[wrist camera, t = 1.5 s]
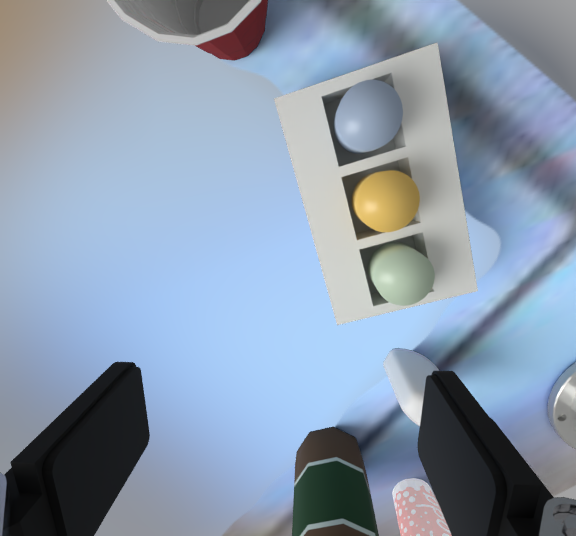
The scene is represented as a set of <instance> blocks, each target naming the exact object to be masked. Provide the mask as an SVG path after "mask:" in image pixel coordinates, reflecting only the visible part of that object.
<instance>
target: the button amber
mask: <svg viewBox="0 0 576 536" xmlns="http://www.w3.org/2000/svg"><path fill="white" fill-rule="evenodd" d="M419 203H420V195H419V190H418V188H417V185H416V184H415V182H414V181H413V180H412V179H411V178H410V177H409V176H408V175H406V174H404V173H402V172H399V171H395V170H388V171H380V172H374V173H371V174H368V175H366V176H365V177H363V178H362V179H361V180H360V181H359V182H358V183H357V185H356V186H355V188H354V190H353V193H352V208H353V211H354V213H355V214H356V216H357V217H358V218H359V219H360V220H361V221H362V222H363V223H365V224H366V225H367V226H369V227H370V228H372V229H374V230H376V231H379V232H393V231H397V230H399V229H402V228H403V227H405V226H406V225H407V224H409V223H410V222H411V221H412V219H413V218H414V217H415V215H416V213H417V211H418V208H419Z"/></svg>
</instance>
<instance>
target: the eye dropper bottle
mask: <svg viewBox="0 0 576 536" xmlns="http://www.w3.org/2000/svg"><path fill="white" fill-rule="evenodd" d="M383 365H384V368H385V370H386V373H387V375H388V378H389V380H390V383H391V385H392V387H393V390H394V392H395V395H396V397H397V400H398V402H399V404H400V406H401V408H402V410H403V411H404V413H405V414H406V415H407V416H408V417H409V418H410V419H411V420H412V421H413V422H414V423H416V424H417V425H418V426H420V422H421V414H422V406H423V398H424V390H425V383H426V377H427V376H428V375H432V372H433V371H439V369H438V368H437V367H436V366H435V365H434V363H432V362H431V361H430V360H429V359H428V358H426V357H425V356H423V355H421V354H420V353H417V352H415V351H412V350H407V349H400V348H395V349H392V350H391V351H390V352H389V353H388V355H387V357H386V359H385V360H384V363H383Z"/></svg>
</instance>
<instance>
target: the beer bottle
mask: <svg viewBox="0 0 576 536" xmlns="http://www.w3.org/2000/svg"><path fill="white" fill-rule="evenodd" d="M292 536H379V534H378V529H377V524H376V519H375V514H374V509H373V504H372V499H371V494H370V489H369V484H368V479H367V474H366V470H365V466H364V462H363V458H362V455H361V452H360V449H359V446H358V443H357V440H356V438H355V437H353V436H351V435H349V434H347V433H345V432H343V431H341V430H339V429H337V428H335V427H329V428H325V429H321V430H316V431H312V432H310V433H309V434H308V436H307V437H306V438H305V440H304V442H303V443H302V444H301V446H300V448H299V449H298V451H297V455H296V463H295V483H294V505H293V527H292Z"/></svg>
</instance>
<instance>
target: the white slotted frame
mask: <svg viewBox="0 0 576 536" xmlns="http://www.w3.org/2000/svg"><path fill="white" fill-rule="evenodd" d="M365 80H380V81H383V82H385V83H387V84H389V85H390V86H391V87H393V88H394V89H395V91H396V92H397V93H398V95H399V97H400V99H401V102H402V107H403V117H402V122H401V125H400V128H399V130H398V132H397V133H396V135H395V136H394V137H393V139H392V140H391V141H389V142H388V143H387V144H386V145H384V146H382V147H380V148H378V149H376V150H374V151H371V152H369V153H365V154H355V153H351V152H349V151H347V150H345V149H344V148H343V147H342V146H341V145H340V144H339V143H338V141H337V139H336V137H335V134H334V129H333V123H334V117H335V114H336V111H337V109H338V107H339V104H340V102H341V100H342V98H343V96H344V95H345V93H346V92H347V91H348V90H349V89H350V88H351V87H353V86H354V85H356V84H357V83H359V82H362V81H365ZM274 100H275V104H276V107H277V111H278V115H279V118H280V122H281V125H282V129H283V133H284V136H285V139H286V143H287V147H288V150H289V154H290V158H291V161H292V165H293V168H294V172H295V176H296V179H297V183H298V186H299V190H300V193H301V197H302V201H303V204H304V208H305V211H306V215H307V218H308V222H309V225H310V229H311V233H312V236H313V240H314V243H315V247H316V251H317V254H318V258H319V261H320V265H321V268H322V272H323V276H324V279H325V283H326V286H327V290H328V293H329V297H330V301H331V304H332V307H333V311H334V315H335V318H336V322H337V325H339V324H344V323H348V322H352V321H356V320H360V319H364V318H369V317H372V316H377V315H381V314H385V313H389V312H393V311H397V310H401V309H406V308H410V307H414V306H418V305H422V304H426V303H430V302H434V301H438V300H442V299H447V298H451V297H455V296H459V295H463V294H467V293H472V292H476V291H478V290H477V283H476V278H475V271H474V265H473V259H472V253H471V246H470V240H469V235H468V228H467V222H466V215H465V209H464V203H463V197H462V191H461V185H460V178H459V172H458V166H457V160H456V154H455V148H454V141H453V135H452V129H451V123H450V117H449V111H448V104H447V98H446V92H445V86H444V80H443V74H442V67H441V61H440V55H439V49H438V43H434V44H432V45H429V46H426V47H423V48H420V49H417V50H414V51H411V52H408V53H405V54H402V55H400V56H397V57H394V58H391V59H388V60H385V61H382V62H379V63H376V64H373V65H371V66H368V67H365V68H362V69H359V70H356V71H353V72H350V73H347V74H344V75H342V76H339V77H336V78H333V79H330V80H327V81H324V82H321V83H318V84H315V85H312V86H310V87H307V88H304V89H301V90H298V91H295V92H292V93H289V94H286V95H283V96H281V97H278V98H275V99H274ZM388 170H395V171H399V172H402V173H404V174H406V175H408V176H409V177H410V178H411V179H412V180H413V181H414V182H415V184H416V185H417V188H418V190H419V195H420V203H419V208H418V211H417V213H416V215H415V217H414V218H413V219H412V221H411V222H410V223H409V224H407V225H406V226H405V227H403V228H402V229H399V230H397V231H393V232H379V231H376V230H374V229H372V228H370V227H369V226H367V225H366V224H365V223H363V222H362V221H361V220H360V219H359V218H358V217H357V216H356V214H355V213H354V211H353V208H352V193H353V190H354V188H355V186H356V185H357V183H358V182H359V181H360V180H361V179H362V178H363V177H365V176H366V175H368V174H371V173H374V172H380V171H388ZM391 242H400V243H404V244H406V245H408V246H410V247H411V248H413V249H415V250H416V251H418V252H419V253H421V254H422V255H424V256H425V257H426V258H427V259H428V260H429V261H430V262H431V264H432V266H433V268H434V273H435V279H434V284H433V287H432V289H431V290H430V292H429V293H428V295H427V296H426V297H425V298H423V299H422V300H421V301H419V302H417V303H415V304H411V305H405V306H401V305H395V304H392V303H390V302H388V301H387V300H385V299H384V298H383V297H382V296H381V294H380V293H379V291H378V290H377V288H376V287H375V285H374V284H373V282H372V280H371V279H370V277H369V273H368V263H369V260H370V257H371V255H372V254H373V253H374V251H375V250H376V249H378V248H379V247H380V246H382V245H384V244H387V243H391Z"/></svg>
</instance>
